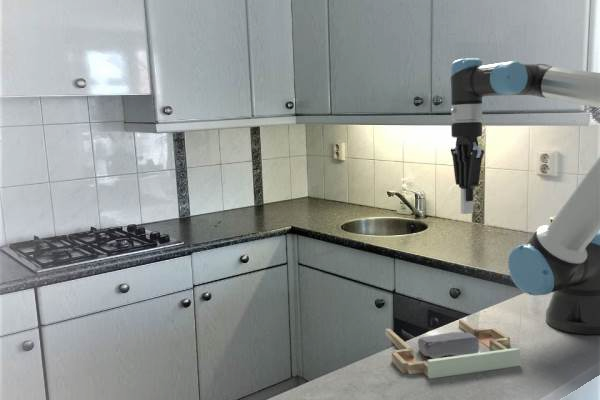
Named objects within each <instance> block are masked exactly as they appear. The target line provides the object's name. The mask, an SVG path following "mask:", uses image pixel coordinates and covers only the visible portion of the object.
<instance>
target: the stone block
mask: <svg viewBox="0 0 600 400" xmlns="http://www.w3.org/2000/svg"><path fill="white" fill-rule="evenodd" d="M417 341H418V342H417V346H418V349H419V352H420V353H421V354H422V355H423V356H425V357H429V358H430V359H437V358H443V357H445V356H446V357H452V356H459V355H466V354H474V353H480V341H478V338H477V337H476V336H474V335H472V334H471V333H467V332H461V331H456V332H455V331H453V332H445V333H440V334H435V335H434V334H433V335H429V336H422V337H420V338H418V339H417Z"/></svg>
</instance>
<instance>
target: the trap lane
mask: <svg viewBox="0 0 600 400" xmlns="http://www.w3.org/2000/svg"><path fill="white" fill-rule="evenodd" d="M458 328H460V329H462V330H463V331H465V333H471V334H472V335H474V336H476V337H477V338H478V342H479V343H481V344H483V345H484V346H486V347H487V348H488V349H490V351H483V352H478V353H474V354H466V355H459V356H446V357H445V356H443V357H440V358H437V359H433V358H430V359H427V360H420V361H418V360H417V359H416V358H415V351H414V349H413V348H412V347H411V346H410V345H409V344H408V343H406V341H405V340H403V339H402V338H401V337H400V336H399V335H397V333H395V332H394V331H393V330H392V329H391V328H385V337H386V338H388V339H389V340H390V341H391V342H392V344H394V346H396V348H398V349H395V350H394V351H393V352H391V362H392V364H393V365H395V367H397V369H398V370H399V371H400V372H401V373H402V374H406V373H407V374H409V375H416V374H424V375H426V376H427V377H428V379H436V378H443V377H451V376H452V377H453V376H458V375H464V374H472V373H479V372H485V371H487V372H488V371H493V370H500V369H506V368H507V369H508V368H513V367H520V366H521V349H520V348H519V347H513V348H509V347H510V345H511V343H510V342H511V339H510V338H511V337H510V336H509V335H506V334H505V333H504V332H502V331H501V330H499V329H497V328H491V327H483V328H482V327H481V328H476V326H473V325H472V324H470V323H469V322H467V321H465V320H464V319H458Z"/></svg>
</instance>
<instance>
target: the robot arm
mask: <svg viewBox="0 0 600 400" xmlns="http://www.w3.org/2000/svg"><path fill="white" fill-rule="evenodd" d="M450 85H451V86H450V87H451V90H450V91H451V94H450V95H451V102H450V103H451V109H450V112H451V121H452V122H453V123H451V127H450V128H451V137H452V138H455V139H456V140H455V141H456V142H455V147H454V148H450V153H451V156H452V164H453V170H454V171H453V172H454V181H455V185H456V186H457V185H458V187H459V188H460V214H463V215H467V214H474V189H475V188H476V187H479V185H480V184H479V183H480V177H481V169H482V160H483V158H484V154H485V150H484V149H483V148H482V149H480V147H479V141H478V138H479V137H482V136H483V123H482V122H481V120H482V119H483V97H484V98H485V97H494V96H532V97H533V96H534V97H538V98H544V99H545V98H546V99H551V100H556V101H560V102H561V101H562V102H567V103H571V104H577V105H582V106H586V107H593V108H597V109H600V72H597V71H596V72H595V71H589V70H588V71H587V70H583V69H582V70H580V69H573V68H567V67H559V66H552V65H550V64H544V63H536V64H533V63H531V64H530V63H529V64H526V63H525V64H524V63H521V62H519V61H502V62H499V63H492V64H486V65H484V64H483V61H482V60H481V59H480V58H460V59H457V60H454V61H453V62H452V64H451V73H450ZM555 216H556V217H555V218H554V220H553V221H552V222H551V221H550V224H543V225H541V226H539V227H538V228H537V229H536V231H534V233H533V234H532V236H531V238H530V239H529V241H528V242H526V243H523V244H519V245H517V246H516V247H514V248H512V249H511V251H510V252H509V255H508V259H507V268H508V270H509V275H510V278H511V280H512V282H513V283H514V285H515V286H516V287H517V288H518V289H519V290H520V291H522V292H523V293H525V294H527V295H529V296H547V295H549V294H551V295H552V296H551V298H550V301H549V304H548V307H547V308H546V311H545V322H546V324H547V325H549V326H550V327H551V328H554V329H555V330H559V331H562V332H567V333H572V334H577V335H579V334H580V335H600V156H599V157H598V158H597V159H596V161H595V162H594V164H593V165H592V166H591V167H590V169H589V171H588V172H587V173H586V175H584V177H583V179H582V180H581V182H580V183H579V184H578V185H577V187H576V188H575V189H574V191H573V192H572V194H571V195H570V197H569V198H568V199H567V200H566V202H565V203H564V205H563V206H562V207H561V208H560V210H559V211H558V213H557V214H556V215H555Z"/></svg>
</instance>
